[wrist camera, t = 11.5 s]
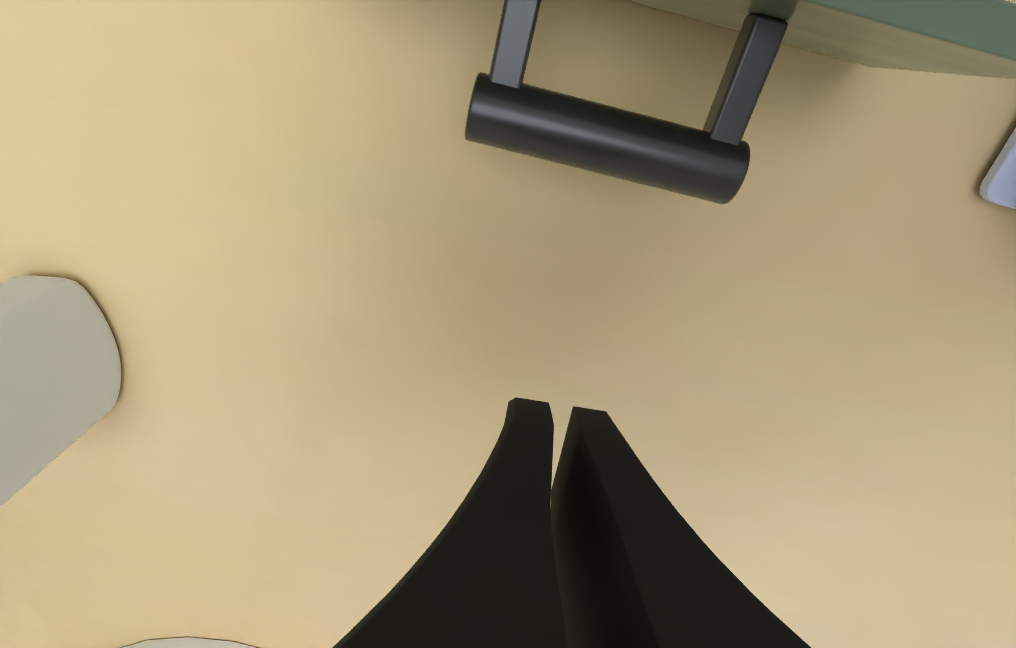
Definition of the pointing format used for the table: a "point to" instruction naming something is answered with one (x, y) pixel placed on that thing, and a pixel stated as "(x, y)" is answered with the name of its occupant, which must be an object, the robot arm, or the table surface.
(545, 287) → the table surface
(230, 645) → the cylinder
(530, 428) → the robot arm
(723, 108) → the drawer
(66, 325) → the eye dropper bottle
